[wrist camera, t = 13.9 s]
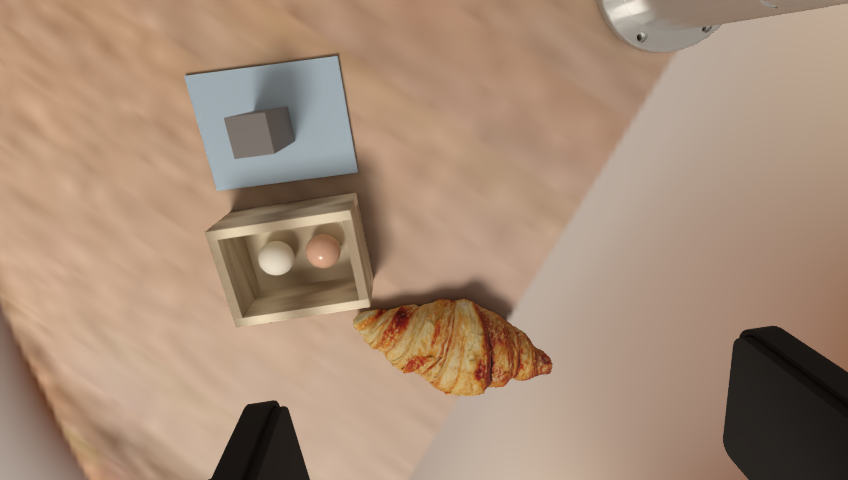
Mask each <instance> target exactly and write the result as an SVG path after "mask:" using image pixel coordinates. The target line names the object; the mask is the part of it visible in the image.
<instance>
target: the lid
mask: <svg viewBox="0 0 848 480" xmlns="http://www.w3.org/2000/svg"><path fill="white" fill-rule="evenodd" d="M184 77H185V81H186V84H187V88H188V91H189V95H190V98H191V102H192V105H193V109H194V112H195V116H196V119H197V123H198V126H199V130H200V133H201V137H202V140H203V144H204V147H205V151H206V154H207V158H208V161H209V165H210V168H211V171H212V175H213V178H214V182H215V185H216V189H217V191H221V190H229V189H236V188H244V187H252V186H259V185H267V184H275V183H282V182H290V181H298V180H305V179H313V178H321V177H328V176H336V175H344V174H351V173H358V168H357V163H356V157H355V151H354V145H353V140H352V134H351V128H350V122H349V117H348V111H347V105H346V100H345V94H344V88H343V82H342V77H341V71H340V65H339V59H338V56H333V57H325V58H318V59H310V60H302V61H295V62H287V63H279V64H272V65H264V66H256V67H249V68H241V69H233V70H226V71H218V72H210V73H203V74H195V75H187V76H184Z"/></svg>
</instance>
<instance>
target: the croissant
mask: <svg viewBox="0 0 848 480" xmlns="http://www.w3.org/2000/svg"><path fill="white" fill-rule="evenodd" d="M353 325H354V328H356V329H357V330H358V331H359V332H360V335H362V336H363V337H364V341H365V342H367V343H368V344H369V346H370V347H371V348H372V349H379V351H381V352H383V353H384V354H385V356H386V358H387V359H388V360H389V361H390V362H391V364H392V365H393V366H394V367H398V369H399V370H402V371H403V373H410V372H415V373H416V374H420V375H421V376H422V377H424V378H425V379H426V380H427V381H429V382H430V383H431V384H432V385H433V387H435V388H436V389H438V390H440V391H443V392H445V394H446V395H447V394H453V395H459V396H460V395H465V396H474V395H480V394H483V393H484V391H485V389H486V388H487V387H503V386H505V385H506V384H507V382H508V381H509V380H510V379H512V378H514V379H515V380H519V381H523V380H528V379H531V378H533V377H535V376H538V375H541V374H549V373H550V372H551V369H552V363H551V360H550V358H549V357H548V356H547V355H546V354H545V353H544V352H543V351H542V350H540V349H537V348H536V347H534V346H533V344H532V342H531V341H530V339H529V338H528V337H527V335H526V334H525V333H524V332H522V331H521V330H519V329H518V328H516V327H514V326H512V325H511V324H510V323H509V322H507V321H506V320H504V319H502V318H501V316H500V315H498V314H496V313H495V312H492V311H489V310H487V309H484V308H482V307H480V306H479V305H477V304H475V303H474V302H472V301H470V300H467V299H461V300H456V301H454V300H451V299H439V300H436V301H435V302H433V303H427V304H423V305H421V306H417V305H415V304H411V305H407V306H406V305H403V306H400V307H398V308H395V309H390V310H389V311H387V310H382V309H376V310H369V311H365V312H362V313H360V314H358V315H357V317H356V318H355V319H354V320H353Z"/></svg>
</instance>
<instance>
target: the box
mask: <svg viewBox="0 0 848 480" xmlns="http://www.w3.org/2000/svg"><path fill="white" fill-rule="evenodd" d="M318 234H328V235H331V236H333V237H334V238H335V239H336V240H337V241H338V242H339V244H340V247H341V255H340V258H339V260H338V261H337V262H336V263H335V264H334V265H333V266H331V267H328V268H318V267H315V266H314V265H312V264H311V263H310V262H309V261H308V259H307V256H306V246H307V243H308V242H309V240H310V239H311V238H312V237H314V236H316V235H318ZM205 235H206V238H207V241H208V244H209V247H210V250H211V253H212V256H213V259H214V262H215V265H216V268H217V271H218V274H219V277H220V280H221V283H222V286H223V289H224V292H225V295H226V298H227V301H228V304H229V308H230V311H231V314H232V317H233V320H234V323H235V326H236V327H242V326H248V325H255V324H261V323H268V322H275V321H281V320H288V319H294V318H301V317H308V316H314V315H321V314H327V313H334V312H341V311H347V310H354V309H360V308H367V307H370V304H371V297H372V289H373V281H374V277H373V272H372V267H371V262H370V257H369V252H368V247H367V242H366V237H365V232H364V227H363V222H362V217H361V212H360V207H359V202H358V197H357V192H356V193H350V194H343V195H336V196H330V197H323V198H317V199H310V200H304V201H297V202H290V203H284V204H277V205H271V206H264V207H258V208H251V209H245V210H238V211H231V212H229V213H228V214H227V215H226V216H224V217H223V218H222V219H221V220H219V221H218V222H217V223H216V224H214V225H213V226H212V227H211V228H209V229H208V230H207V231H206V232H205ZM272 241H281V242H284V243H286V244H288V245H289V246H290V247H291V249H292V250H293V252H294V264H293V266H292V267H291V269H290V270H289V271H288V272H286V273H284V274H282V275H270V274H268V273H266V272H265V271H264V270H263V269H262V268H261V267H260V265H259V261H258V256H259V252H260V250H261V249H262V247H263V246H264V245H266V244H267V243H269V242H272Z"/></svg>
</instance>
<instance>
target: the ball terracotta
mask: <svg viewBox="0 0 848 480" xmlns="http://www.w3.org/2000/svg"><path fill="white" fill-rule="evenodd" d="M340 255H341V247H340V244H339V242H338V241H337V240H336V239H335V238H334V237H333V236H331V235H328V234H318V235H316V236H314V237H312V238H311V239H310V240H309V242H308V243H307V246H306V256H307V259H308V261H309V262H310V263H311V264H312V265H314V266H315V267H318V268H328V267H331V266H333V265H334V264H335V263H336V262H337V261H338V260H339V258H340Z"/></svg>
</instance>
